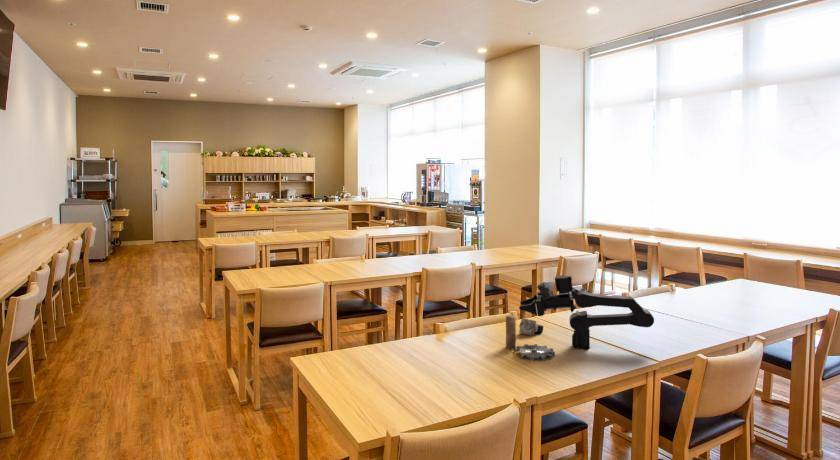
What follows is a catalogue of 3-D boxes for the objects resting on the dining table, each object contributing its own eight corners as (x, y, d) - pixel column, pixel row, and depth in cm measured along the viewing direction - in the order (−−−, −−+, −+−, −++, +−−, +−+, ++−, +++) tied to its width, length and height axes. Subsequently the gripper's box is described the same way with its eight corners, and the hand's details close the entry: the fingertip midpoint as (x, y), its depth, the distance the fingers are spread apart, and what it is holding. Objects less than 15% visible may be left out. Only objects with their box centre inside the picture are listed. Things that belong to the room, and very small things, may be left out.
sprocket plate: (555, 349, 217) (556, 344, 216) (553, 362, 201) (553, 357, 201) (516, 346, 221) (516, 341, 221) (511, 359, 206) (511, 354, 206)
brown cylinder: (516, 346, 221) (516, 315, 220) (515, 349, 218) (515, 318, 216) (506, 345, 222) (506, 315, 221) (505, 348, 219) (505, 317, 217)
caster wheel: (539, 334, 245) (544, 338, 235) (515, 330, 245) (519, 333, 235) (542, 320, 245) (547, 323, 235) (518, 315, 245) (521, 318, 235)
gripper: (555, 278, 228) (518, 282, 232) (555, 287, 210) (515, 291, 214) (558, 303, 229) (522, 307, 233) (559, 314, 211) (519, 318, 215)
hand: (520, 305), depth 224 cm, fingers open, 9 cm apart
